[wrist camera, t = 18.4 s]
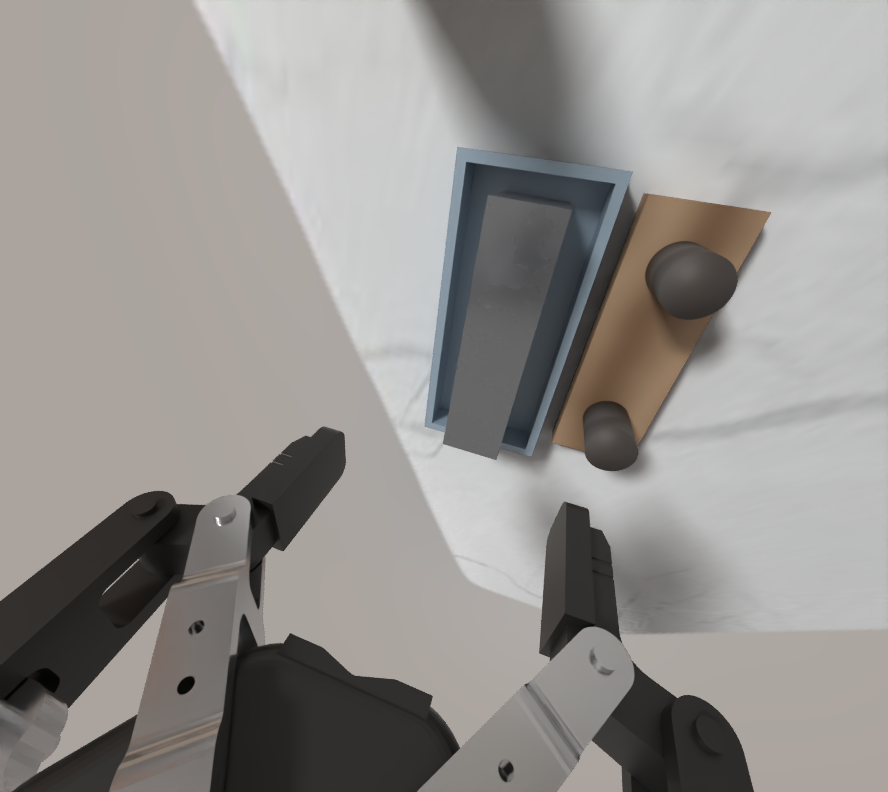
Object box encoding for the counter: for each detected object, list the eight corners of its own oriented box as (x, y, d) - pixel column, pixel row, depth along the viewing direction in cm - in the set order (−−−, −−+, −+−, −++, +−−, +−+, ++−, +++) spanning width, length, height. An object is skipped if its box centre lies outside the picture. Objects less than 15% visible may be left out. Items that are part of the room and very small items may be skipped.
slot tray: (624, 172, 20) (632, 171, 18) (533, 434, 31) (531, 457, 29) (469, 150, 22) (457, 146, 19) (435, 407, 33) (424, 426, 30)
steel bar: (570, 202, 21) (572, 210, 16) (507, 413, 30) (496, 459, 25) (505, 190, 22) (487, 194, 17) (462, 401, 31) (442, 443, 26)
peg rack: (758, 210, 19) (816, 220, 15) (624, 451, 29) (635, 501, 25) (643, 193, 20) (666, 197, 16) (552, 431, 30) (550, 476, 26)
